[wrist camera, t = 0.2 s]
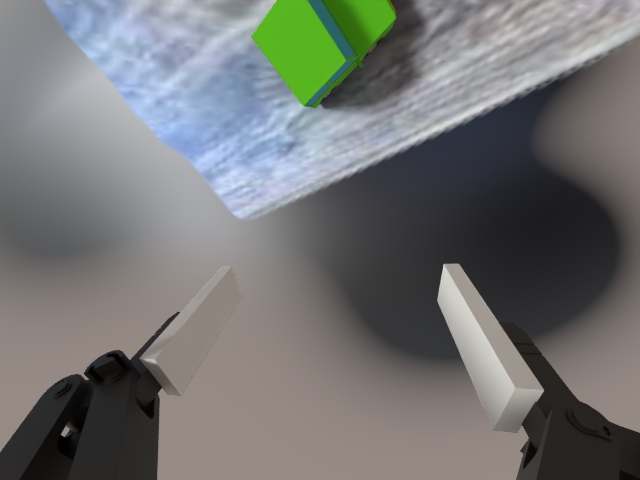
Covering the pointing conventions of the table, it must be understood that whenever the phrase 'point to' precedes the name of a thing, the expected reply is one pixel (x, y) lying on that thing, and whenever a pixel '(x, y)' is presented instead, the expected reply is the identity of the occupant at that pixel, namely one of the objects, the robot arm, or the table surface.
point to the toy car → (321, 41)
